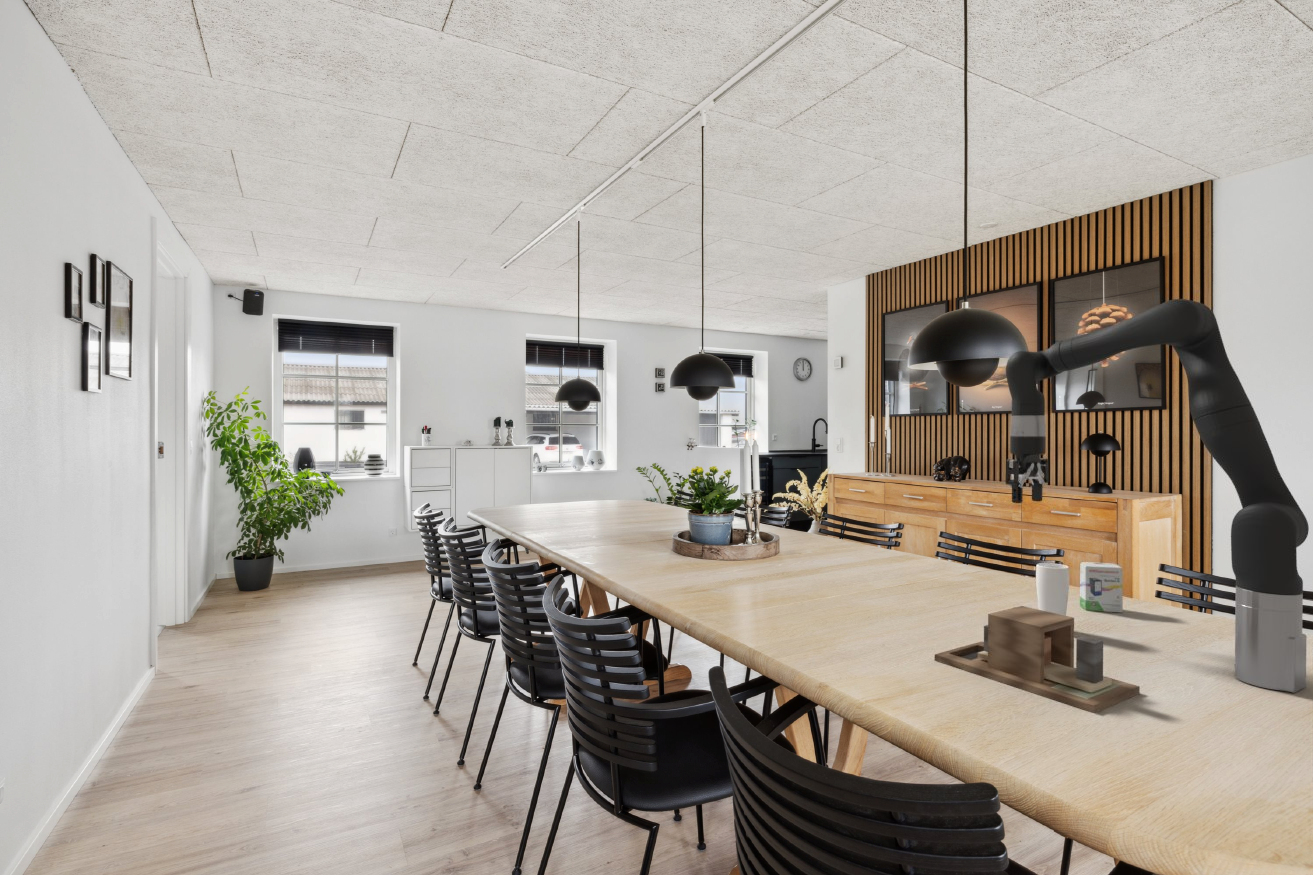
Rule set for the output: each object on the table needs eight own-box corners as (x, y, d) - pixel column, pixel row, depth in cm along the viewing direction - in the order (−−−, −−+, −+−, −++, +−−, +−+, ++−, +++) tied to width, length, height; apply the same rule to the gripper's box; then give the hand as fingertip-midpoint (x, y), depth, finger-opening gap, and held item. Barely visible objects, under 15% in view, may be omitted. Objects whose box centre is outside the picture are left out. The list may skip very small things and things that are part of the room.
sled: (1111, 684, 120) (1112, 639, 120) (1091, 692, 117) (1091, 646, 117) (998, 651, 138) (998, 612, 138) (977, 657, 134) (978, 617, 134)
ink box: (1116, 608, 178) (1116, 563, 178) (1123, 613, 173) (1123, 567, 173) (1078, 605, 181) (1079, 561, 180) (1084, 610, 176) (1085, 565, 175)
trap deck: (1139, 693, 121) (1140, 629, 120) (1093, 712, 112) (1094, 644, 112) (981, 646, 146) (982, 594, 146) (934, 660, 138) (934, 604, 137)
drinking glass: (1060, 625, 162) (1060, 562, 162) (1074, 634, 155) (1075, 568, 155) (1030, 624, 163) (1030, 562, 162) (1043, 633, 156) (1044, 568, 156)
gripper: (1026, 435, 156) (1026, 505, 157) (1059, 434, 164) (1059, 501, 164) (995, 434, 163) (995, 502, 163) (1028, 434, 170) (1028, 499, 171)
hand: (1027, 502), depth 164 cm, fingers open, 8 cm apart
